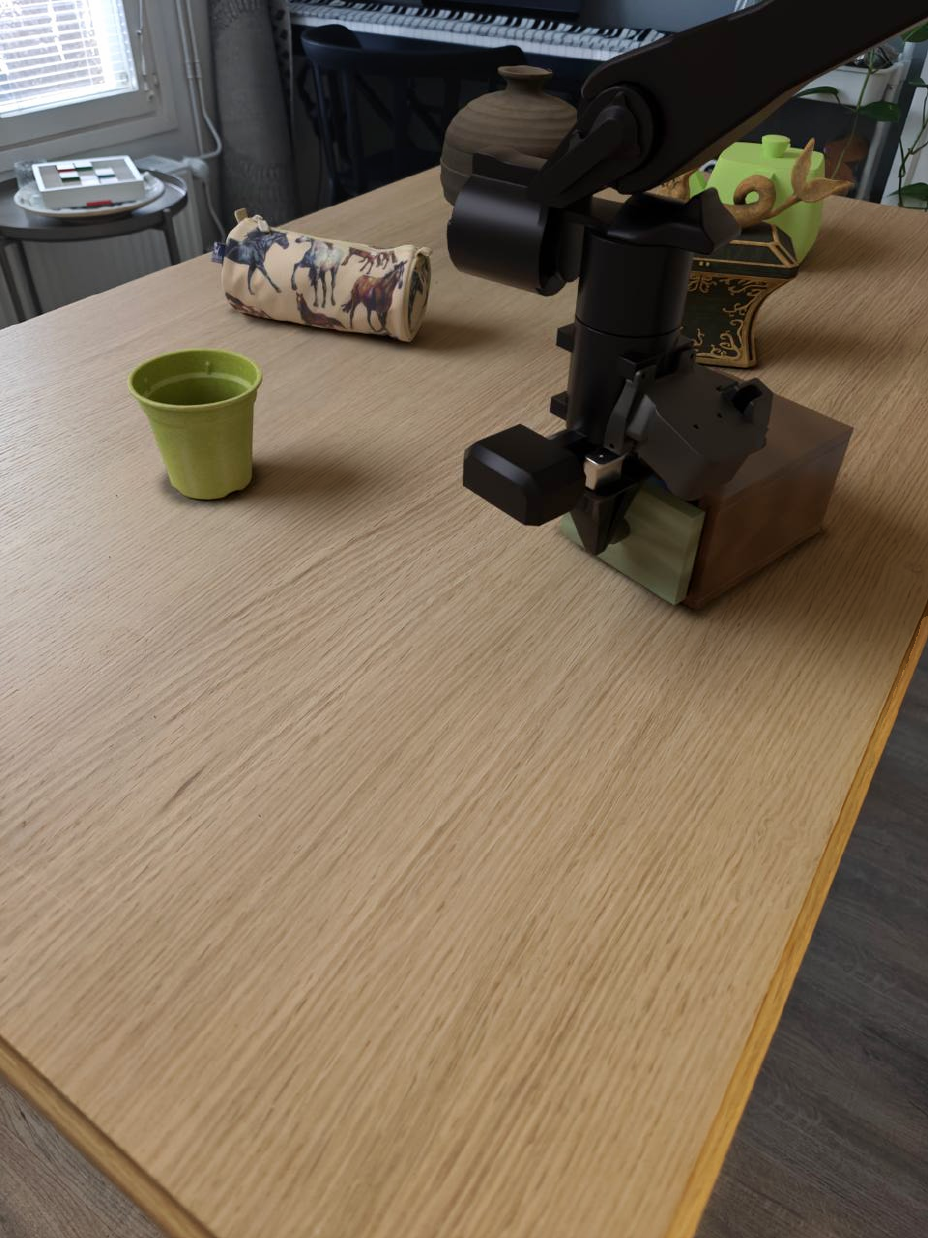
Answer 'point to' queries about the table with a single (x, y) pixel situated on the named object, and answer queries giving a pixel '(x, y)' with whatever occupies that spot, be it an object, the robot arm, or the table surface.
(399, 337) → the pencil case
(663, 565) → the drawer
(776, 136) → the teapot
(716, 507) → the cabinet
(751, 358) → the decorative box
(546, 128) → the pot
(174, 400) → the plant pot
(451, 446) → the table surface
